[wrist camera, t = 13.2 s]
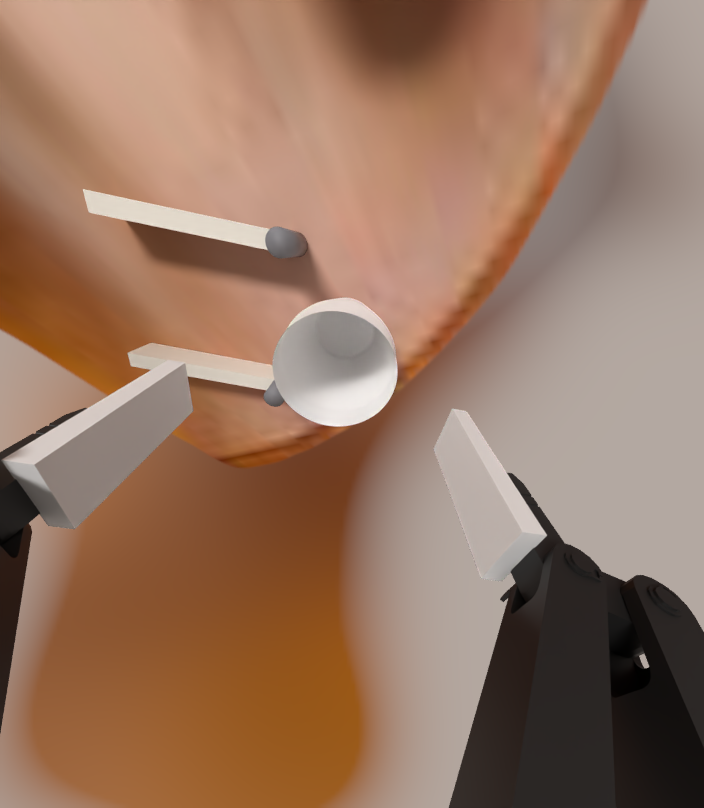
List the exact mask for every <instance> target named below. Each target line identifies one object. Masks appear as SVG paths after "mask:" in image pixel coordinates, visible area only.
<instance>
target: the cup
mask: <svg viewBox="0 0 704 808" xmlns="http://www.w3.org/2000/svg"><path fill="white" fill-rule="evenodd" d="M397 372H398V370H397V361H396V350H395V344H394V341H393V338H392V336H391V333H390V332H389V330H388V328H387V326H386V325H385V323H384V322H383V321H382V320H381V319H380V317H379V316H377V315H376V314H375V313H374V312H373V311H372V310H371V309H369V308H368V307H367V306H366V305H364V304H363V303H362V302H360V301H358V300H356V299H353V298H346V297H344V298H336V299H330V300H325V301H321V302H318V303H315V304H313V305H311V306H309V307H307V308H306V309H304V310H303V311H301V312H300V313H299V314H298V315H297V316H296V317H295V318H294V319H293V320H292V321H291V323H290V324H289V326H288V328H287V329H286V331H285V332H284V334H283V335H282V336H281V338H280V340H279V342H278V344H277V346H276V348H275V352H274V356H273V376H274V380H275V383H276V386H277V388H278V390H279V392H280V394H281V396H282V397H283V399H284V400H285V401H286V403H287V404H288V405H289V406H290V407H291V408H292V409H293V410H294V411H296V412H297V413H298V414H300V415H301V416H303V417H305V418H306V419H308V420H310V421H313V422H316V423H319V424H322V425H327V426H349V425H354V424H358V423H361V422H363V421H365V420H367V419H369V418H371V417H373V416H374V415H376V414H377V413H378V412H379V411H380V410H381V409H382V408H383V407H384V406H385V405H386V404H387V403H388V401H389V400H390V398H391V396H392V394H393V392H394V389H395V386H396V382H397Z"/></svg>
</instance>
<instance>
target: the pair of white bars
mask: <svg viewBox="0 0 704 808" xmlns="http://www.w3.org/2000/svg"><path fill="white" fill-rule="evenodd" d="M83 192H84V196H85V200H86V203H87V207H88V211H89V213H94V214H98V215H103V216H108V217H113V218H117V219H122V220H127V221H132V222H137V223H141V224H146V225H151V226H156V227H160V228H165V229H170V230H175V231H179V232H184V233H189V234H194V235H198V236H203V237H208V238H213V239H218V240H222V241H227V242H232V243H237V244H241V245H246V246H251V247H256V248H260V249H265V250H268V251H269V252H270V254H271V255H273V256H274V257H276V258H291V257H300V256H303V255H304V254H305V253H306V251H307V241H306V238H305V237H304V236H303V235H302V234H301V233H299V232H295V231H292V230H288V229H285V228H281V227H273V228H271V229H267V228H262V227H257V226H253V225H248V224H243V223H239V222H234V221H229V220H225V219H220V218H215V217H211V216H206V215H201V214H197V213H192V212H187V211H183V210H178V209H173V208H169V207H164V206H159V205H155V204H150V203H145V202H141V201H136V200H131V199H127V198H122V197H117V196H113V195H108V194H103V193H99V192H94V191H89V190H85V189H83ZM128 357H129V360H130V364H131V366H133V367H139V368H144V369H150V370H152V369H154V368H156V367H157V366H159V365H161V364H162V363H164V362H166V361H167V360H172V361H178V362H184V363H185V364H186V370H187V376H189V377H195V378H200V379H206V380H211V381H217V382H223V383H228V384H234V385H239V386H245V387H251V388H256V389H262V390H266V392H265V393H264V400H265V401H266V403H267V404H269V405H271V406H274V407H277V406H280V405H281V404H282V403H283V401H284V399H283V397H282V396H281V394H280V392H279V390H278V388H277V386H276V383H275V380H274V376H273V365H269V364H264V363H259V362H253V361H248V360H242V359H237V358H232V357H226V356H221V355H215V354H210V353H205V352H199V351H194V350H188V349H183V348H177V347H172V346H167V345H161V344H156V343H149V344H147V345H145V346H142V347H140V348H138V349H135V350H133V351H131V352H128Z"/></svg>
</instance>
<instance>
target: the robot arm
mask: <svg viewBox="0 0 704 808" xmlns="http://www.w3.org/2000/svg"><path fill="white" fill-rule="evenodd" d="M192 412H193V406H192V400H191V394H190V388H189V382H188V376H187V370H186V364H185V363H184V362H178V361H172V360H167V361H166V362H164V363H162V364H161V365H159V366H157V367H156V368H154V369H152V370H151V371H149V372H147V373H146V374H144V375H142V376H141V377H139V378H137V379H136V380H134V381H132V382H131V383H129V384H127V385H126V386H124V387H122V388H120V389H119V390H117V391H115V392H114V393H112V394H110V395H109V396H107V397H105V398H104V399H102V400H101V401H99V402H98V403H96V404H94V405H92V406H90V407H89V408H83V409H80V410H78V411H75V412H72V413H69V414H66V415H64V416H62V417H61V418H59V419H57V420H55V421H54V422H52V423H50V425H49V426H45V427H43V428H42V429H40V430H38V431H36V434H31V435H29V436H28V437H26V438H24V439H22V440H21V441H19V442H17V443H16V444H14V445H12V446H10V447H9V448H7V449H5V450H3V451H2V452H0V732H1V725H2V719H3V713H4V706H5V700H6V694H7V687H8V681H9V674H10V668H11V662H12V655H13V649H14V643H15V636H16V630H17V624H18V617H19V611H20V605H21V598H22V591H23V586H24V579H25V573H26V566H27V560H28V554H29V547H30V541H31V535H32V530H31V526H30V525H29V522H30V521H31V520H33V519H34V518H35V517H36V516H37V515H38V514H40V515H41V517H42V518H43V519H44V521H45V522H46V524H47V525H48V526H53V527H61V528H69V529H75V528H76V527H78V526H79V525H80V524H81V523H82V522H83V521H84V520H85V519H86V518H87V517H88V516H89V515H90V514H91V513H92V512H93V511H94V510H95V509H96V508H97V507H98V506H99V505H100V504H101V503H102V502H103V501H104V500H105V499H106V498H107V497H108V496H109V495H110V494H111V492H113V491H114V490H115V489H116V488H117V487H118V486H119V485H120V484H121V483H122V481H124V480H125V479H126V478H127V477H128V476H129V475H130V474H131V473H132V472H133V471H134V470H135V469H136V468H137V467H138V466H139V465H140V464H141V463H142V462H143V461H144V460H145V459H146V458H147V457H148V455H150V454H151V453H152V452H153V451H154V450H155V449H156V448H157V446H159V445H160V444H161V443H162V442H163V441H164V440H165V439H166V438H167V437H168V435H170V434H171V433H172V432H173V431H174V430H175V429H176V428H177V427H178V426H179V425H180V424H181V423H182V422H183V421H184V420H185V419H186V418H187V417H188V416H189V415H190V414H191V413H192ZM434 452H435V455H436V457H437V460H438V463H439V465H440V468H441V471H442V474H443V476H444V479H445V482H446V485H447V487H448V490H449V493H450V496H451V498H452V501H453V504H454V507H455V509H456V512H457V515H458V518H459V520H460V523H461V526H462V529H463V531H464V534H465V537H466V539H467V542H468V545H469V548H470V550H471V553H472V556H473V559H474V561H475V564H476V567H477V569H478V572H479V575H480V578H481V579H487V580H495V581H503V580H504V579H505V577H506V576H507V575H509V573H510V572H511V573H512V575H513V578H514V580H515V582H516V583H515V584H514V585H513V586H512V587H511V588H510V589H509V590H508V591H507V592H506V593H505V594H504V595H503V596H502V597H501V599H500V600H502V601H503V602H504V601H505V600H506V599H507V598H508V601H507V605H506V609H505V612H504V616H503V619H502V623H501V626H500V630H499V633H498V637H497V640H496V644H495V647H494V651H493V654H492V658H491V661H490V665H489V668H488V672H487V675H486V679H485V682H484V686H483V689H482V693H481V696H480V700H479V703H478V707H477V711H476V714H475V717H474V721H473V724H472V728H471V731H470V735H469V739H468V742H467V746H466V750H465V753H464V756H463V760H462V763H461V767H460V770H459V774H458V777H457V781H456V784H455V788H454V791H453V795H452V798H451V802H450V805H449V808H704V632H703V630H702V629H701V627H700V625H699V623H698V621H697V620H696V618H695V616H694V615H693V614H692V612H691V611H690V609H689V608H688V607H687V605H686V604H685V603H684V602H683V601H682V600H681V599H680V598H679V597H678V596H677V595H676V594H675V593H674V592H672V591H671V590H669V588H667V587H666V586H664V585H663V584H661V583H659V582H658V581H656V580H654V579H652V578H649V577H647V576H644V575H636V576H635V577H633V578H632V579H630V580H628V581H627V582H625V581H622V580H620V579H618V578H616V577H613V576H611V575H608V574H606V573H604V572H602V571H601V570H600V569H599V567H598V566H597V565H596V564H595V562H594V561H593V560H592V559H591V558H590V557H589V556H587V555H586V554H585V553H583V552H582V551H581V550H579V549H577V548H575V547H573V546H571V545H568V544H565V543H564V542H563V540H562V539H561V538H560V536H559V535H558V533H557V532H556V530H555V529H554V527H553V526H552V525H551V523H550V521H549V520H548V519H547V517H546V516H545V514H544V513H543V511H542V510H541V508H540V507H538V504H537V503H536V501H535V500H534V498H533V497H531V494H530V493H529V491H528V490H527V488H526V487H525V485H524V484H523V483H522V482H521V481H520V480H519V479H518V478H517V477H516V476H514V475H513V474H512V473H506V471H505V470H504V468H503V467H502V465H501V464H500V462H499V461H498V459H497V457H496V456H495V454H494V453H493V451H492V450H491V448H490V447H489V445H488V443H487V442H486V440H485V439H484V437H483V436H482V434H481V433H480V431H479V430H478V428H477V427H476V425H475V424H474V422H473V420H472V419H471V417H470V416H469V414H468V413H467V411H463V410H457V409H452V410H451V412H450V414H449V417H448V419H447V421H446V423H445V425H444V428H443V430H442V432H441V434H440V437H439V438H438V441H437V443H436V445H435V447H434ZM644 653H645V656H646V659H647V661H648V664H649V668H644V667H643V665H642V663H641V660H640V657H639V655H642V654H644Z"/></svg>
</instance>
